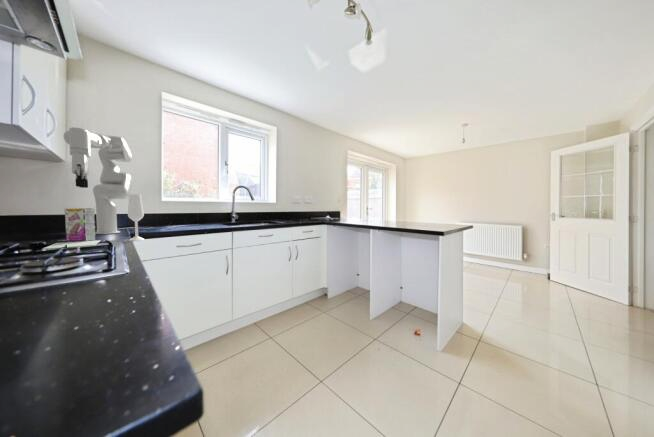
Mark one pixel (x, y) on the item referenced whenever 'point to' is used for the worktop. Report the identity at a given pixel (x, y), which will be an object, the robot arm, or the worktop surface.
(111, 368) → the worktop surface
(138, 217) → the champagne flute
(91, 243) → the mat
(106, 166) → the robot arm
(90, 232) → the candy bar box
